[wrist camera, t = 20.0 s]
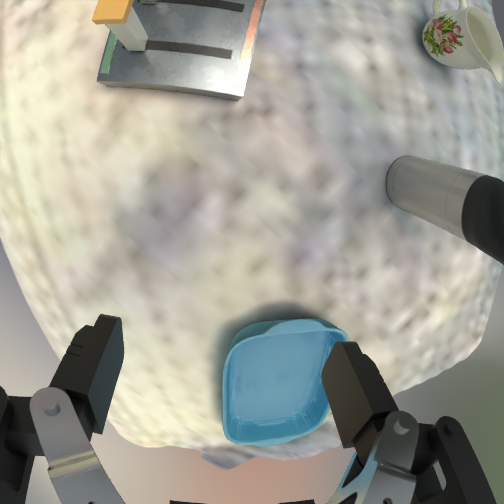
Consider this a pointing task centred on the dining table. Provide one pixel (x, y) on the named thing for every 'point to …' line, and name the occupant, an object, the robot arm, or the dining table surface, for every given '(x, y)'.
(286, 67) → the dining table surface
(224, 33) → the switch panel
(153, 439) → the dining table surface
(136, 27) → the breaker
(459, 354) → the dining table surface
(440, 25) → the pitcher
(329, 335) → the casserole dish
